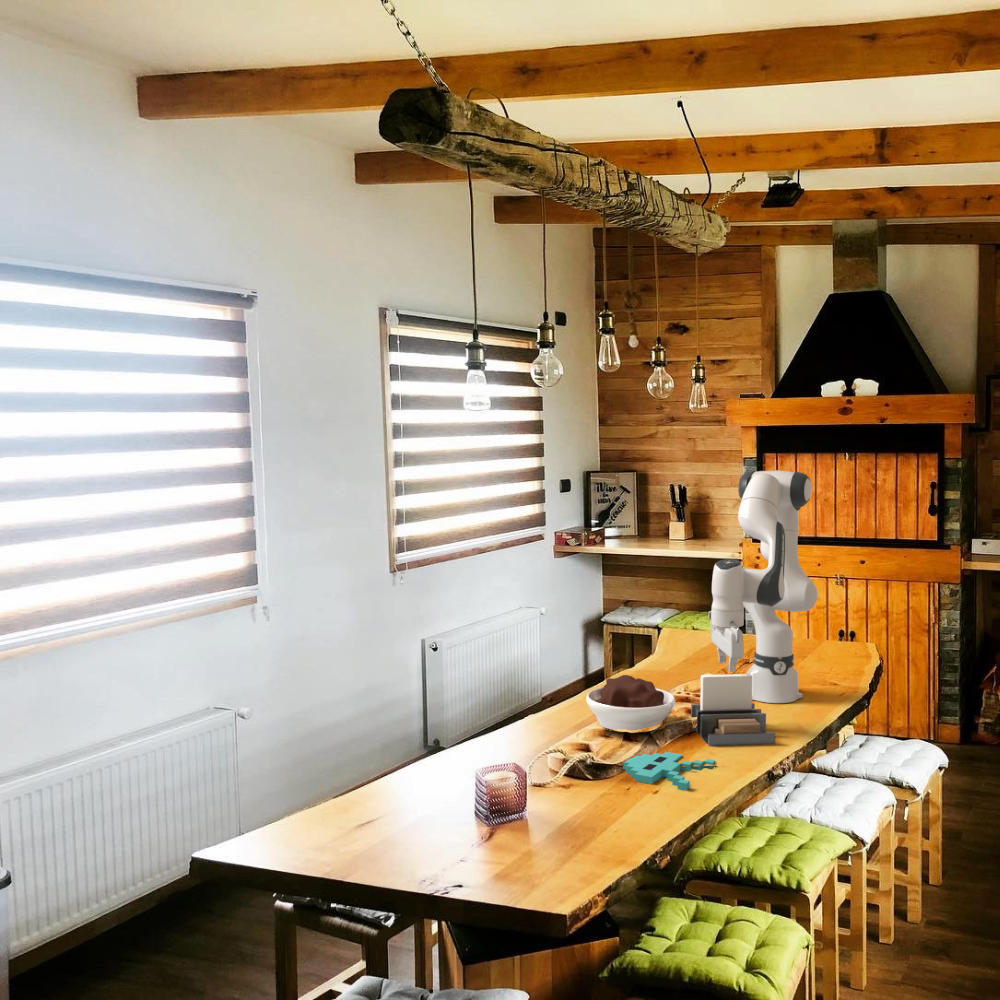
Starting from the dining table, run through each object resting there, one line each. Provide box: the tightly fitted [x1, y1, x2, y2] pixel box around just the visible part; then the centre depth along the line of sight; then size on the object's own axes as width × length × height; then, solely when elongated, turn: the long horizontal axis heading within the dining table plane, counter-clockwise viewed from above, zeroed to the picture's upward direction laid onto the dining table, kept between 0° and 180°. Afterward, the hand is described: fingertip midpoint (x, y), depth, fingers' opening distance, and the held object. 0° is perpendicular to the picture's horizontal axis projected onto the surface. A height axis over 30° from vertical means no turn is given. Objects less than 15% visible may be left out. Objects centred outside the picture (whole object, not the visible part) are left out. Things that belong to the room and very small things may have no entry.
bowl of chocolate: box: [585, 674, 676, 730], centre depth 312 cm, size 25×25×15 cm
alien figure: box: [622, 751, 716, 791], centre depth 277 cm, size 20×2×20 cm
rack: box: [690, 702, 776, 747], centre depth 303 cm, size 19×18×7 cm
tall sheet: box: [699, 673, 753, 710], centre depth 309 cm, size 2×14×15 cm, turn 95°
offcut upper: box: [718, 719, 760, 733], centre depth 298 cm, size 5×10×2 cm, turn 95°
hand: (727, 666), depth 308 cm, fingers open, 8 cm apart
